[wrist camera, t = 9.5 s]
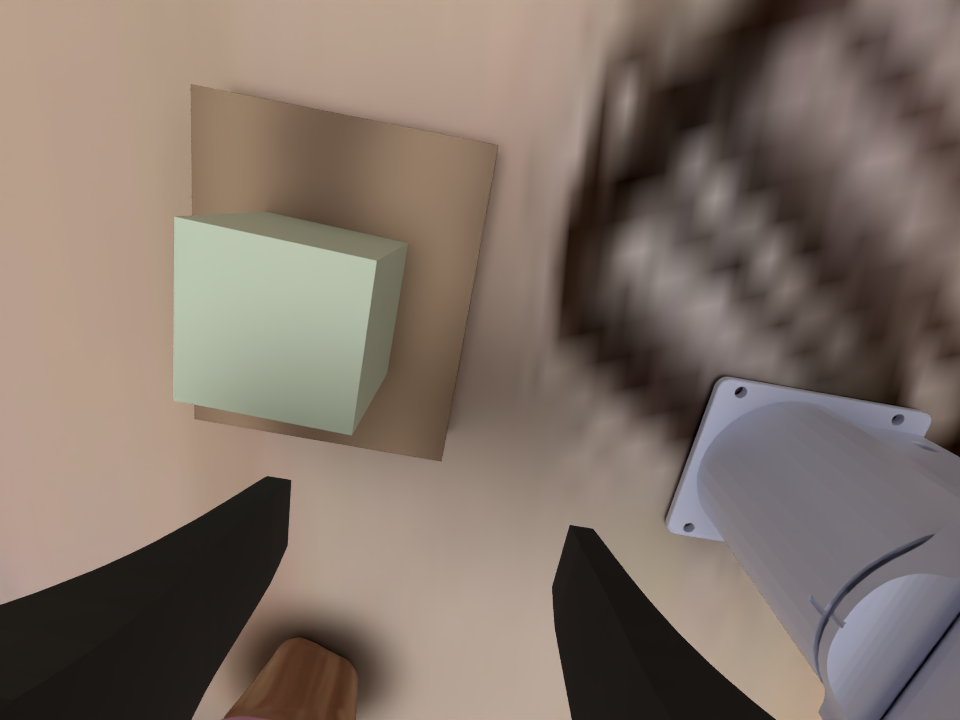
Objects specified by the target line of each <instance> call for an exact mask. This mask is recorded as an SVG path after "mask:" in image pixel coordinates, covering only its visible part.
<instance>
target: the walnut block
mask: <svg viewBox="0 0 960 720" xmlns="http://www.w3.org/2000/svg"><path fill="white" fill-rule="evenodd" d="M497 150H498V145H494V144H489V143H484V142H479V141H474V140H469V139H464V138H459V137H454V136H449V135H444V134H439V133H434V132H429V131H424V130H419V129H414V128H409V127H403V126H398V125H393V124H388V123H383V122H378V121H373V120H368V119H363V118H358V117H353V116H348V115H343V114H338V113H333V112H328V111H323V110H318V109H313V108H308V107H303V106H298V105H293V104H288V103H283V102H278V101H273V100H268V99H263V98H258V97H253V96H248V95H243V94H238V93H233V92H228V91H223V90H218V89H213V88H208V87H203V86H198V85H193V84H191V153H192V216H195V215H212V214H230V213H248V212H270V213H274V214H279V215H283V216H288V217H292V218H297V219H301V220H306V221H310V222H315V223H319V224H324V225H329V226H333V227H338V228H342V229H347V230H351V231H356V232H360V233H365V234H369V235H374V236H378V237H383V238H387V239H392V240H396V241H401V242H406V243H408V248H407V254H406V260H405V267H404V273H403V279H402V285H401V291H400V297H399V304H398V310H397V316H396V322H395V328H394V334H393V340H392V347H391V353H390V359H389V365H388V371H387V375H386V377H385V378H384V380H383V382H382V384H381V385H380V387H379V389H378V391H377V392H376V394H375V396H374V398H373V399H372V401H371V403H370V405H369V406H368V408H367V410H366V412H365V413H364V415H363V417H362V419H361V420H360V422H359V424H358V426H357V427H356V429H355V431H354V433H353V434H352V435H347V434H342V433H337V432H331V431H326V430H321V429H316V428H311V427H306V426H301V425H296V424H291V423H286V422H281V421H276V420H270V419H265V418H260V417H255V416H250V415H245V414H240V413H235V412H230V411H225V410H220V409H215V408H210V407H204V406H199V405H194V410H195V419H197V420H203V421H209V422H215V423H221V424H226V425H232V426H238V427H244V428H250V429H256V430H261V431H267V432H273V433H279V434H285V435H290V436H296V437H302V438H308V439H314V440H320V441H325V442H331V443H337V444H343V445H349V446H354V447H360V448H366V449H372V450H378V451H384V452H389V453H395V454H401V455H407V456H413V457H418V458H424V459H430V460H436V461H442V456H443V450H444V445H445V439H446V434H447V429H448V423H449V417H450V412H451V406H452V401H453V395H454V390H455V384H456V379H457V373H458V367H459V362H460V356H461V351H462V345H463V340H464V334H465V328H466V323H467V317H468V312H469V306H470V301H471V295H472V290H473V284H474V278H475V273H476V267H477V262H478V256H479V251H480V245H481V240H482V234H483V228H484V223H485V217H486V212H487V206H488V201H489V195H490V190H491V184H492V178H493V173H494V167H495V162H496V156H497Z"/></svg>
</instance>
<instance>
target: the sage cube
mask: <svg viewBox="0 0 960 720" xmlns="http://www.w3.org/2000/svg"><path fill="white" fill-rule="evenodd" d="M407 248H408V243H406V242H401V241H396V240H392V239H387V238H383V237H378V236H374V235H369V234H365V233H360V232H356V231H351V230H347V229H342V228H338V227H333V226H329V225H324V224H319V223H315V222H310V221H306V220H301V219H297V218H292V217H288V216H283V215H279V214H274V213H270V212H248V213H230V214H212V215H195V216H177V217H174V363H173V400H174V401H179V402H184V403H189V404H194V405H199V406H204V407H210V408H215V409H220V410H225V411H230V412H235V413H240V414H245V415H250V416H255V417H260V418H265V419H270V420H276V421H281V422H286V423H291V424H296V425H301V426H306V427H311V428H316V429H321V430H326V431H331V432H337V433H342V434H347V435H352V434H353V433H354V431H355V429H356V427H357V426H358V424H359V422H360V420H361V419H362V417H363V415H364V413H365V412H366V410H367V408H368V406H369V405H370V403H371V401H372V399H373V398H374V396H375V394H376V392H377V391H378V389H379V387H380V385H381V384H382V382H383V380H384V378H385V377H386V375H387V371H388V365H389V359H390V353H391V347H392V340H393V334H394V328H395V322H396V316H397V310H398V304H399V297H400V291H401V285H402V279H403V273H404V267H405V260H406V254H407Z"/></svg>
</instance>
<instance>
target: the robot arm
mask: <svg viewBox="0 0 960 720" xmlns="http://www.w3.org/2000/svg"><path fill="white" fill-rule="evenodd" d="M739 387H743V388H742V391H741V393H739V394H735V390H736V389H737V388H739ZM896 415H897V417H896V418H895V419H894V420H892V418H893V417H894V416H896ZM930 424H931V417H930V416H929V414H927V413H925V412H923V411H920V410H916V409H910V408H905V407H899V406H893V405H888V404H882V403H876V402H871V401H865V400H859V399H854V398H848V397H842V396H837V395H831V394H825V393H819V392H814V391H808V390H802V389H797V388H791V387H785V386H780V385H774V384H768V383H763V382H757V381H751V380H746V379H740V378H734V377H723V378H720V379H719V380H718V381H717V382H716V384H715V385H714V388H713V391H712V394H711V396H710V399H709V402H708V405H707V407H706V410H705V413H704V416H703V418H702V421H701V424H700V427H699V429H698V432H697V435H696V438H695V440H694V443H693V446H692V449H691V451H690V454H689V457H688V460H687V462H686V465H685V468H684V471H683V473H682V476H681V479H680V482H679V485H678V487H677V490H676V493H675V496H674V498H673V501H672V504H671V507H670V509H669V512H668V515H667V518H666V522H665V523H666V526H667V528H668V530H669V531H670V532H671V533H674V534H678V535H684V536H690V537H696V538H703V539H709V540H715V541H721V542H726V544H727V545H728V547H729V548H730V550H731V551H732V553H733V554H734V556H735V557H736V558H737V560H738V561H739V563H740V564H741V566H742V567H743V569H744V570H745V572H746V573H747V574H748V576H749V577H750V579H751V580H752V582H753V583H754V585H755V586H756V588H757V589H758V590H759V592H760V593H761V595H762V596H763V598H764V599H765V601H766V602H767V604H768V605H769V606H770V608H771V609H772V611H773V612H774V614H775V615H776V617H777V618H778V620H779V621H780V622H781V624H782V625H783V627H784V628H785V630H786V631H787V633H788V634H789V636H790V637H791V638H792V640H793V641H794V643H795V644H796V646H797V647H798V649H799V650H800V652H801V653H802V654H803V656H804V657H805V659H806V660H807V662H808V663H809V665H810V666H811V668H812V669H813V670H814V672H815V673H816V675H817V676H818V678H819V679H820V681H821V682H822V683H823V684H824V688H825V698H824V702H823V704H822V706H821V707H820V709H819V714H820V716H821V717H822V719H823V720H960V457H958V456H957V455H955V454H953V453H951V452H949V451H947V450H946V449H944V448H942V447H940V446H938V445H937V444H935V443H933V442H931V441H929V440H927V439H926V438H924V436H925V434H926V432H927V430H928V429H929V427H930ZM290 492H291V480H288V479H281V478H275V477H269V476H267V477H265V478H263V479H261V480H260V481H258V482H256V483H255V484H253V485H252V486H250V487H248V488H247V489H245V490H244V491H242V492H240V493H239V494H237V495H235V496H234V497H232V498H231V499H229V500H227V501H226V502H224V503H222V504H221V505H219V506H217V507H216V508H214V509H212V510H211V511H209V512H207V513H206V514H204V515H202V516H201V517H199V518H197V519H196V520H194V521H192V522H190V523H188V524H187V525H185V526H183V527H181V528H179V529H177V530H175V531H174V532H172V533H170V534H168V535H166V536H164V537H163V538H161V539H159V540H157V541H155V542H153V543H151V544H149V545H147V546H145V547H143V548H141V549H139V550H137V551H135V552H133V553H131V554H129V555H127V556H124V557H122V558H120V559H118V560H116V561H113V562H111V563H109V564H107V565H105V566H102V567H100V568H98V569H95V570H93V571H90V572H88V573H85V574H83V575H80V576H78V577H75V578H73V579H70V580H67V581H65V582H62V583H60V584H57V585H55V586H52V587H50V588H47V589H44V590H42V591H39V592H36V593H34V594H31V595H28V596H25V597H22V598H19V599H16V600H13V601H10V602H8V603H5V604H2V605H0V720H191V719H192V717H193V715H194V713H195V711H196V709H197V707H198V705H199V703H200V701H201V699H202V697H203V695H204V693H205V691H206V690H207V688H208V686H209V684H210V683H211V681H212V679H213V677H214V675H215V674H216V672H217V670H218V669H219V667H220V665H221V664H222V662H223V660H224V659H225V657H226V656H227V654H228V652H229V651H230V649H231V647H232V646H233V644H234V643H235V641H236V639H237V638H238V636H239V634H240V633H241V631H242V629H243V628H244V626H245V625H246V623H247V621H248V620H249V618H250V616H251V615H252V613H253V612H254V610H255V608H256V607H257V605H258V603H259V602H260V600H261V598H262V597H263V595H264V593H265V592H266V590H267V588H268V587H269V585H270V583H271V581H272V579H273V577H274V575H275V572H276V570H277V568H278V566H279V564H280V562H281V559H282V557H283V555H284V553H285V550H286V548H287V546H288V528H289V510H290ZM687 523H691V524H690V525H689V526H687V527H684V525H685V524H687ZM552 594H553V611H554V624H555V632H556V637H557V643H558V648H559V654H560V659H561V665H562V670H563V675H564V680H565V686H566V691H567V696H568V702H569V707H570V712H571V718H572V720H776V719H774V718H773V717H772V716H771V715H769V714H768V713H767V712H766V711H764V710H763V709H762V708H761V707H759V706H758V705H757V704H756V703H754V702H753V701H752V700H751V699H750V698H748V697H747V696H746V695H745V694H744V693H743V692H742V691H740V690H739V689H738V688H737V687H736V686H735V685H733V684H732V683H731V682H730V681H729V680H728V679H726V678H725V677H724V676H723V675H722V674H721V673H720V672H719V671H717V670H716V669H715V668H714V667H713V666H712V665H711V664H710V663H709V662H708V661H707V660H706V659H705V658H704V657H703V656H701V655H700V654H699V653H698V652H697V651H696V650H695V649H694V648H693V647H692V646H691V645H690V644H689V643H688V642H687V641H686V640H685V639H684V638H683V637H682V636H681V635H680V634H679V633H678V632H677V631H676V630H675V628H674V627H673V626H672V625H671V624H670V623H669V622H668V621H667V620H666V619H665V617H664V616H663V615H662V614H661V613H660V612H659V611H658V610H657V609H656V607H655V606H654V605H653V604H652V603H651V602H650V600H649V599H648V598H647V597H646V596H645V595H644V593H643V592H642V591H641V590H640V589H639V587H638V586H637V585H636V584H635V582H634V581H633V580H632V579H631V577H630V576H629V575H628V574H627V572H626V571H625V570H624V568H623V567H622V566H621V565H620V563H619V562H618V561H617V559H616V558H615V557H614V555H613V554H612V553H611V552H610V550H609V549H608V548H607V546H606V545H605V544H604V542H603V541H602V540H601V538H600V537H599V536H598V534H597V533H596V532H595V531H594V529H591V528H585V527H579V526H573V525H570V526H569V530H568V533H567V537H566V540H565V544H564V547H563V551H562V554H561V558H560V561H559V565H558V568H557V572H556V575H555V579H554V582H553V586H552Z"/></svg>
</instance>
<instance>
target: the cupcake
mask: <svg viewBox="0 0 960 720" xmlns="http://www.w3.org/2000/svg"><path fill="white" fill-rule="evenodd" d="M357 695H358V676H357V673H356V671H355V669H354V667H353V666H352V664H351V663H350V662H349V661H348V660H347V659H345V658H343V657H341V656H339V655H337V654H335V653H333V652H331V651H329V650H327V649H325V648H323V647H321V646H320V645H318V644H316V643H314V642H312V641H309V640H307V639H304V638H301V637H297V638H293V639H289V640H287V641H285V642H284V643H282V644H281V645H280V646H279V647H278V649H277V650H276V652H275V653H274V655H273V656H272V658H271V659H270V660H269V661H268V663H267V664H266V665H265V666H264V667H263V669H262V670H261V671H260V673H259V674H258V676H257V677H256V679H255V680H254V682H253V683H252V684H251V685H250V686H249V687H248V689H247V690H246V691H245V693H244V694H243V695H242V696H241V697H240V698H239V700H238V701H237V702H236V703H235V704H234V706H233V707H232V708H231V709H230V710H229V712H228V713H227V714H226V715H225V717H224V718H223V719H221V720H356V712H357Z"/></svg>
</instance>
